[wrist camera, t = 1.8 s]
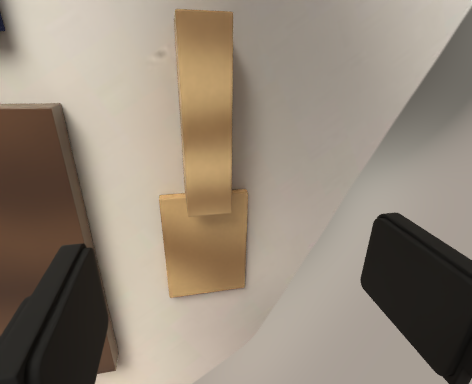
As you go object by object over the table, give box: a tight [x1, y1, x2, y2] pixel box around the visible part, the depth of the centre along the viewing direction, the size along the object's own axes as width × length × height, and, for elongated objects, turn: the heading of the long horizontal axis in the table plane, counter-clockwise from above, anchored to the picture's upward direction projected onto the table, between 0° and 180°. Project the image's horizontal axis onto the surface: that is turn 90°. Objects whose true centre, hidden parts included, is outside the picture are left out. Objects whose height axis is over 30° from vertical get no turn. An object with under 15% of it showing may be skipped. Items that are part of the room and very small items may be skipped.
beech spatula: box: [159, 9, 248, 298], centre depth 21 cm, size 22×7×4 cm, turn 179°
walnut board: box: [0, 103, 119, 374], centre depth 22 cm, size 24×12×2 cm, turn 179°
